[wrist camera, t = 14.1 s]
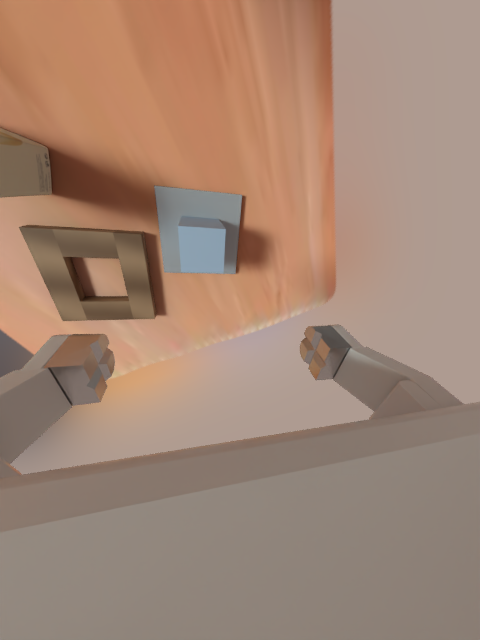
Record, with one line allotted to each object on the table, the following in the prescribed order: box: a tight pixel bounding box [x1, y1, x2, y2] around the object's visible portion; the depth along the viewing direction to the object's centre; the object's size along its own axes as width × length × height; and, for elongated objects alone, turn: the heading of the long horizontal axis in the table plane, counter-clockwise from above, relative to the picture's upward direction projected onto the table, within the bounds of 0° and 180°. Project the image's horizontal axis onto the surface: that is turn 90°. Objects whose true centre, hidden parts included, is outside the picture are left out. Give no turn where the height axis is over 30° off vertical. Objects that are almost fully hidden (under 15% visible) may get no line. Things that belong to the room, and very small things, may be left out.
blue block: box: [178, 216, 226, 273], centre depth 23 cm, size 4×4×7 cm
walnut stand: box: [19, 225, 156, 321], centre depth 26 cm, size 12×12×2 cm
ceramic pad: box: [154, 186, 242, 274], centre depth 26 cm, size 10×10×1 cm
